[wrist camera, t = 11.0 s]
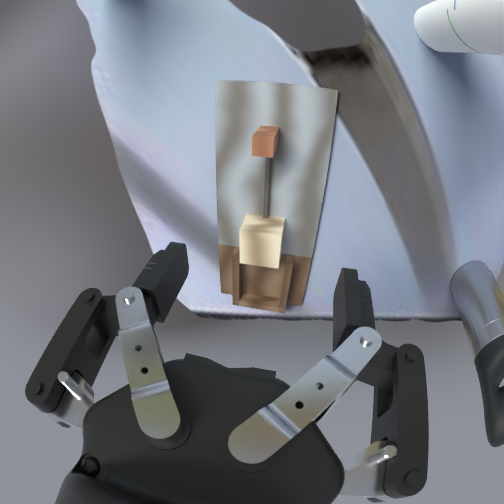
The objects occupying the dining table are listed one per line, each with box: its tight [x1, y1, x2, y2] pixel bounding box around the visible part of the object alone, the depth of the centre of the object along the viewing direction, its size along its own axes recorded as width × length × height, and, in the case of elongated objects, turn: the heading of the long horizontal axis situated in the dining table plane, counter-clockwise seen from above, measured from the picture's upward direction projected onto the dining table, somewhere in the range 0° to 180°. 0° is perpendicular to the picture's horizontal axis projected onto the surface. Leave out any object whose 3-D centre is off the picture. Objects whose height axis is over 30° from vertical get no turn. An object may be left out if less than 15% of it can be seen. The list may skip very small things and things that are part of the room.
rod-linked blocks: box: [239, 126, 285, 269], centre depth 39 cm, size 6×20×6 cm, turn 179°
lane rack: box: [215, 81, 338, 313], centre depth 43 cm, size 16×39×3 cm, turn 178°
